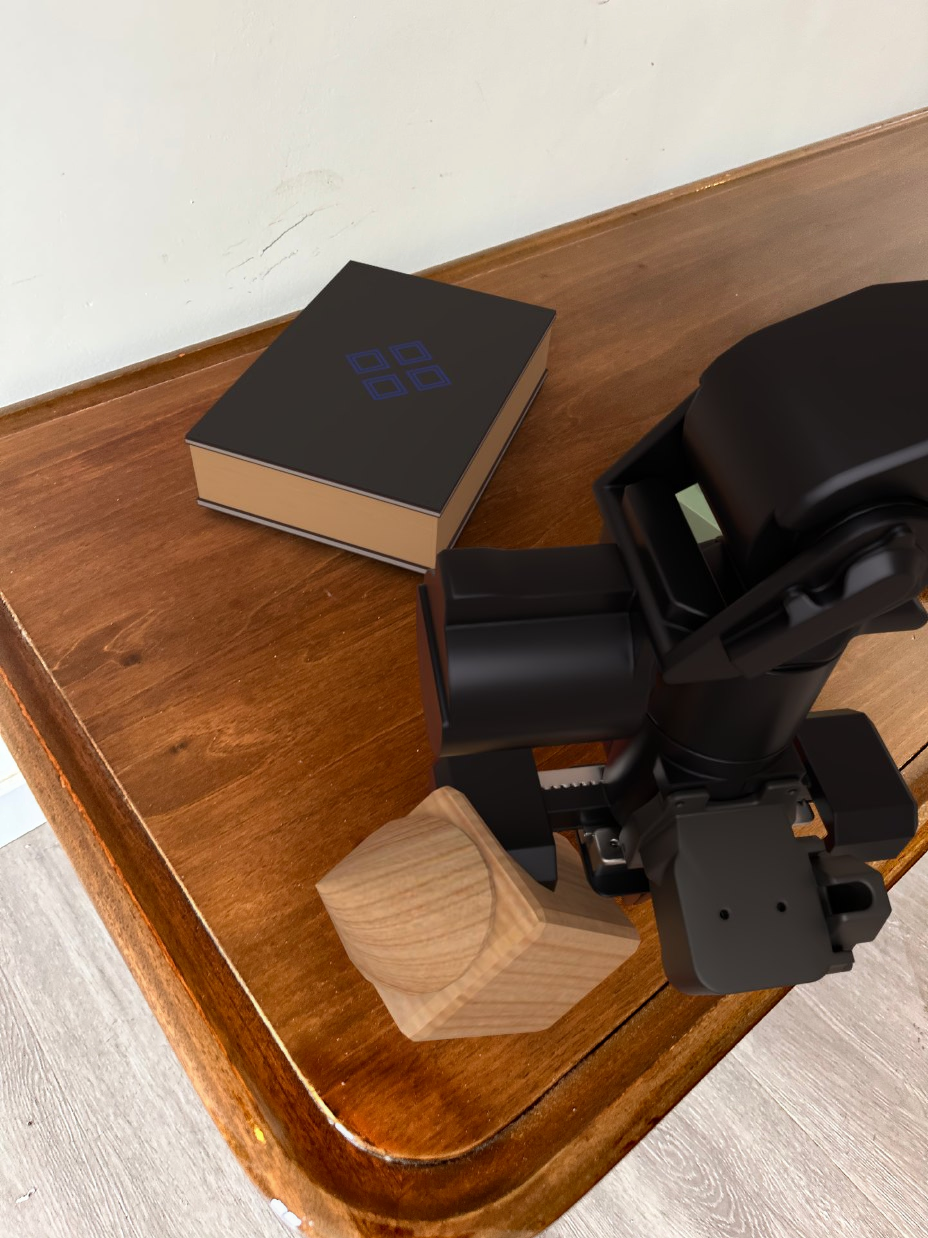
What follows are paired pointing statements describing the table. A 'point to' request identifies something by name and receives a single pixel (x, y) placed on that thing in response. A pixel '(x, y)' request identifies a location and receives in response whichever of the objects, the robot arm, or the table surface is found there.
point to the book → (375, 415)
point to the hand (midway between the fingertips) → (628, 895)
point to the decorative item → (470, 926)
